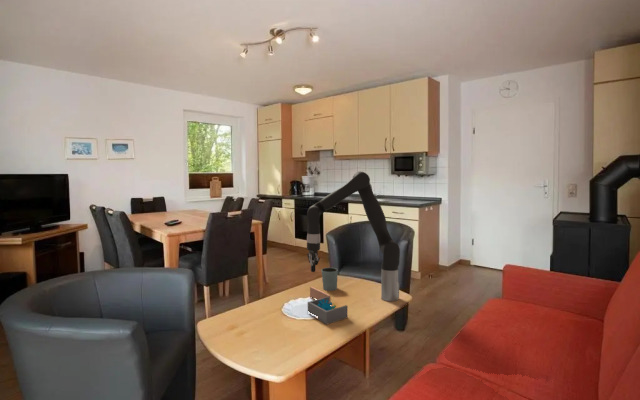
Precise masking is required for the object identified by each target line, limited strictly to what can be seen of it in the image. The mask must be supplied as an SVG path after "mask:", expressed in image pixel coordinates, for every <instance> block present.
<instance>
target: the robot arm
mask: <svg viewBox="0 0 640 400" xmlns="http://www.w3.org/2000/svg"><path fill="white" fill-rule="evenodd" d="M355 193H358V195H359V196H360V199H361V203H362V206H363V210H364V212H365V215H366V217H367V220H368V222H369V224H370V226H371V228H372V231H373V232H374V234H375V236H376V238H377V239H376V240H377V243H378V246H379V248H380V249H379V250H380V251H381V253H382V254H383V259H382V260H383V261H382V263H381V271H380V273H381V274H380V275H381V277H380V278H381V279H380V280H381V281H380V282H381V289H380V291H381V292H380V293H381V295H380V298H381V300H383V301H386V302H395V301H397V300H398V299H400V282H399V266H400V259H401V258H400V257H401V256H400V255H401V253H400V252H401V249H400V246H399V244H398V243H397V242H395V241H394V240H393V238H392V237H391V234H390V233H389V229H388V225H387V219H386V216H385V214H384V210H383V209H382V206H381V204H380V202H379V200H378V199H377V198H376V196H375V194H374V193H373V190H372V185H371V178H370V176H369V174H368V173H366V172H364V171H357V172H355V173H354V174H353V176H352V179H350V180H349V181H348V182H347V183H346V184H344V185H343V186H341V187H339V188H337V189H336V190H333V191H332V192H330V193H329V194H327V195H326V196H324V197H323V198H322V199H321V200H319V201H317V202H316V203H315V204H312V205H311V206H309V208H308V209H307V213H306V215H307V229H306V230H307V231H306V232H307V235H306V250H307V251H308V252H307V254H306V255H307V259H308V263H309V265H310V272H311V273H315V272H316V266H318V264H319V262H320V257H319V256H318V255H319V253H318V251H320V250H321V224H320V217H321V215H322V214H323V213H325V212H326V211H329V210H331V209H332V208H334V207H335V206H337V205H338V204H339V203H341V202H342V201H343V200H346V198H348V197H349V196H351V195H353V194H355Z"/></svg>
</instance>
